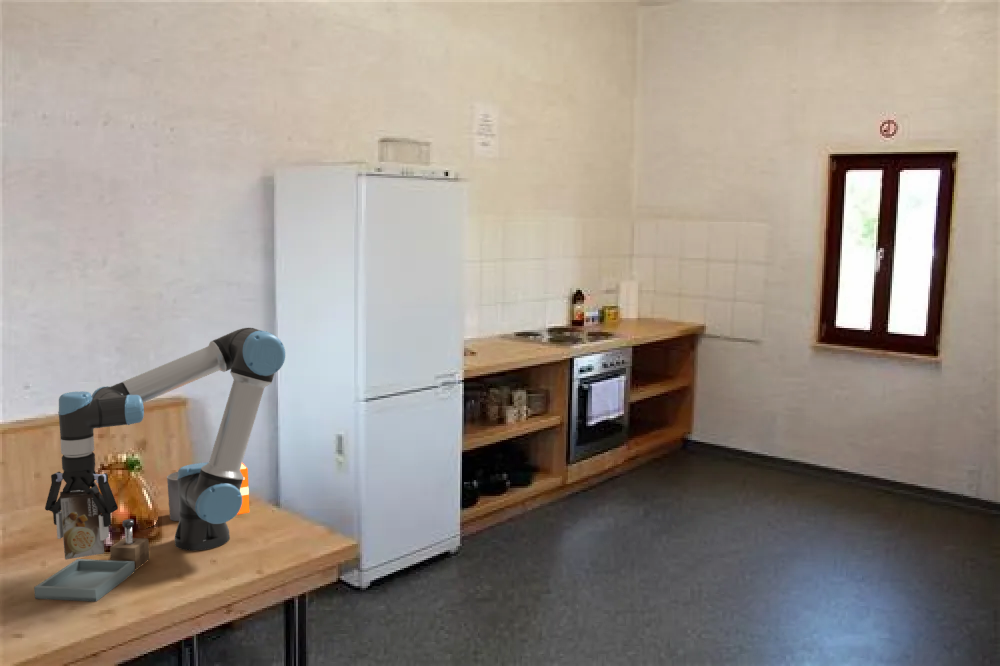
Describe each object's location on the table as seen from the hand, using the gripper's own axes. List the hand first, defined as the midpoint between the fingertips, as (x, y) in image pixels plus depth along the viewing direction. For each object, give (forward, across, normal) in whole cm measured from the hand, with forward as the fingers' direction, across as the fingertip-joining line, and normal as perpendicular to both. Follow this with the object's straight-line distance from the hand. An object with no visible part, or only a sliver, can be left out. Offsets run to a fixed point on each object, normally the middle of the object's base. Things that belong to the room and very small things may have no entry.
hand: (83, 537), depth 217 cm
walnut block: (+13, -4, -14) cm, 19 cm away
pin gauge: (+13, -4, -14) cm, 19 cm away
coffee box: (+4, 0, 0) cm, 4 cm away
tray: (+13, 0, 0) cm, 13 cm away
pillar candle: (+13, -1, -52) cm, 54 cm away
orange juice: (+13, -14, -59) cm, 62 cm away
